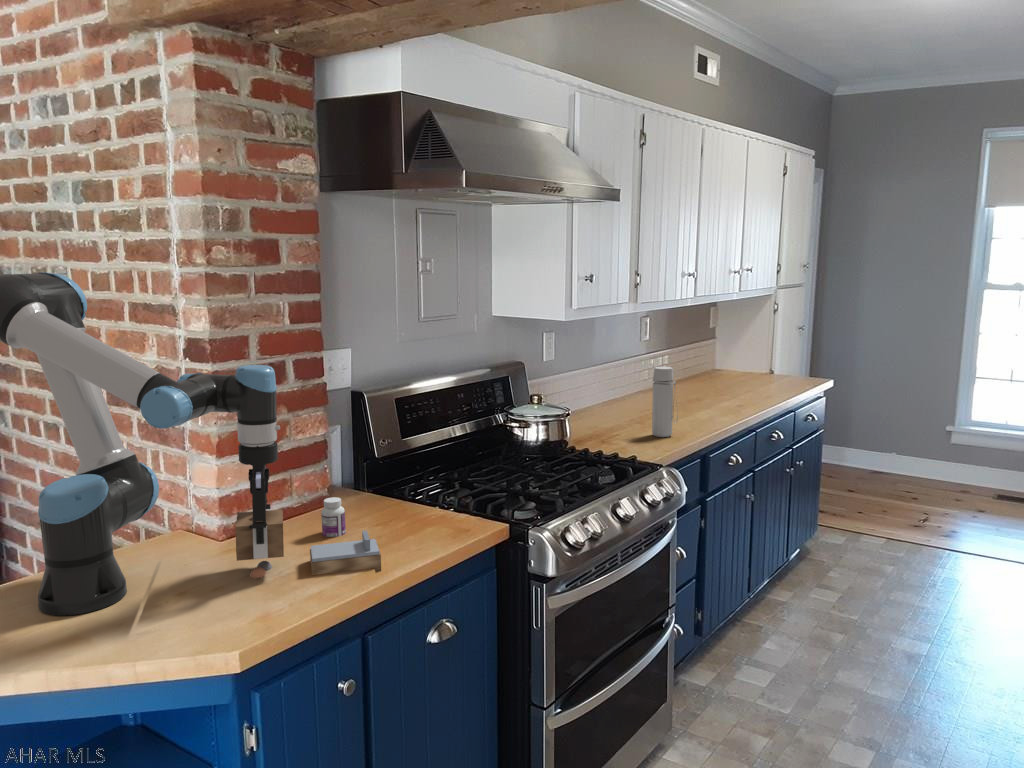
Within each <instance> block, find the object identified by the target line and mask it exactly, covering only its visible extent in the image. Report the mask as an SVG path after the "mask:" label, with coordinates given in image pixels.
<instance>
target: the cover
mask: <svg viewBox="0 0 1024 768" xmlns="http://www.w3.org/2000/svg"><path fill="white" fill-rule="evenodd" d="M283 512H284V510H283V509H275V510H274V509H268V511H266V523H267V544H268V558H267V559H273V558H275V559H276V558H283V557H285V556H284V555H285V554H284V552H285V551H284V549H285V547H284V515H283V514H284V513H283ZM257 522H262V521H257ZM252 524H253V511H244V512H243V511H242V512H241V511H239V512H237V514H236V520H235V547H236V548H235V549H236V550H235V552H236V554H235V555H236V556H235V557H236V561H237V562H238V561H247V560H255V559H254V555H253V529H249V525H252ZM262 559H264V558H262ZM262 559H261V560H262Z"/></svg>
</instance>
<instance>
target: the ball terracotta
mask: <svg viewBox="0 0 1024 768" xmlns="http://www.w3.org/2000/svg"><path fill="white" fill-rule="evenodd" d="M266 574H267V571H265V570H264V569H263V568H262V567H257V566H256V567H254V568H253V569H252V570H251V571H250V577H251V578H262V577H264V576H266Z"/></svg>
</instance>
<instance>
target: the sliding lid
mask: <svg viewBox="0 0 1024 768" xmlns="http://www.w3.org/2000/svg"><path fill="white" fill-rule="evenodd" d="M361 537H362V539H361V540H352V541H351V540H350V541H343V542H334V543H333V542H332V543H324V544H316V545H310V549H311V554H312V562H318V561H327V560H336V559H344V558H353V557H362V556H371V555H379V554H381V552H380V548H379V546H378V543H377V540H376V538H371V539H370V536H369V533H368V530H362V531H361Z"/></svg>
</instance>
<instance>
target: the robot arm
mask: <svg viewBox="0 0 1024 768" xmlns="http://www.w3.org/2000/svg"><path fill="white" fill-rule="evenodd" d="M87 310H88V302H87V297H86V295H85V293H84V291H83V290H82V288H81V286H80V285H79V284H77V283H76V281H74V280H73V279H71V278H70V277H67V276H65V275H63V274H60V273H59V274H58V273H52V272H47V271H46V272H44V271H43V272H41V271H40V272H37V273H4V274H3V273H2V274H0V342H1V343H4V344H5V345H7V346H9V347H10V348H13V349H15V350H16V349H23V348H25V349H27V350H28V351H31V352H33V353H34V354H35V356H36V357H37V360H38V362H39V365H40V367H41V370H42V373H43V375H44V377H45V380H46V381H47V385H48V387H49V389H50V392H51V394H52V396H53V399H54V401H55V402H54V403H55V404H56V406H57V409H58V411H59V413H60V416H61V419H62V421H63V423H64V427H65V428H66V431H67V433H68V436H69V438H70V441H71V443H72V446H73V448H74V452H75V453H76V455H77V456H76V457H77V458H78V461H79V466H78V467H77V469H76V472H75V475H71V476H69V477H68V478H61V479H58V480H56V481H54V482H51V483H49V484H47V486H45V487H44V488H43V489H42V490H41V491H40V493H39V496H38V510H37V512H38V513H37V514H38V517H39V525H40V530H41V531H40V532H41V540H42V549H43V556H44V559H43V560H44V572H43V574H42V579H41V583H40V587H39V591H38V594H37V602H38V609H39V611H40V612H41V613H44V614H46V615H51V616H74V615H80V614H87V613H91V612H95V611H97V610H101V609H105V608H107V607H109V606H111V605H114V604H115V603H118V602H119V601H120V600H122V599H123V598H124V597H125V596H126V594H127V592H128V588H127V581H126V577H125V576H124V574H123V572H122V570H121V567H120V565H119V563H118V561H117V559H116V558H115V555H114V547H113V546H114V545H113V536H112V533H114V532H116V531H117V530H120V529H122V528H123V527H124V526H126V525H129V524H130V523H132V522H135V521H138V520H139V519H141V518H143V516H145V514H147V513H148V512H149V511H151V510H152V509H153V508H154V506H155V505H156V502H157V500H158V499H159V498H158V497H159V493H160V485H159V479H158V477H157V475H156V473H155V472H154V470H153V469H152V468H151V467H150V466H147V465H146V464H145V463H144V462H141V461H140V462H139V459H138V457H137V455H136V453H135V451H132V450H130V449H129V448H125V446H124V444H123V442H122V439H121V437H120V433H119V431H118V428H117V427H116V423H115V421H114V419H113V417H112V416H113V415H112V414H111V411H110V408H109V406H108V404H107V403H108V402H107V401H106V399H105V396H104V394H103V391H102V390H104V391H105V392H108V393H110V395H111V394H112V395H113V396H115V397H117V398H119V399H120V400H123V401H125V402H126V403H128V404H129V405H132V406H134V407H136V408H138V409H139V410H140V413H141V416H142V417H143V419H144V420H145V421H146V423H147V424H148V425H150V426H151V427H153V428H156V429H160V430H161V429H169V428H174V427H179V426H181V425H184V424H185V423H187V422H189V421H191V420H194V419H197V418H200V417H202V416H204V415H207V414H210V413H233V414H234V413H235V414H236V415H237V418H236V419H237V424H236V425H237V427H236V429H237V441H238V443H239V444H238V462H240V463H241V464H242V465H245V466H248V465H249V466H252V468H249V469H248V482H249V493H250V495H251V496H252V497H251V502H252V504H251V505H252V512H253V524H252V525H249V529H253V555H254V559H253V560H259V559H260V560H262V558H263V559H269V558H268V544H267V523H266V511H269V510H271V504H268V498H267V494H268V492H269V480H270V468H269V467H266V466H267V464H268V465H269V464H274V463H275V462H277V460H278V459H279V450H278V449H279V448H278V446H279V445H278V443H277V442H276V441H277V439H278V431H279V430H281V426H280V424H279V425H278V422H277V421H278V420H277V419H278V417H277V391H278V390H277V389H278V388H277V387H278V386H277V383H276V382H277V381H276V373H275V370H274V369H275V368H273V367H272V366H270V365H265V364H247V365H240V366H238V367H237V368H236V369H235V374H231V375H230V374H214V373H202V372H196V373H184V374H182V375H180V376H179V379H177V381H176V380H174V379H173V378H170V377H168V375H167V376H166V375H164V374H162V373H161V372H159V371H157V370H155V369H154V368H152V367H150V366H148V365H146V364H144V363H143V362H141V361H138V360H137V359H135V358H133V357H132V356H129V355H127V354H125V353H124V352H123V351H121V350H119V349H116V348H114V347H112V346H111V345H109V344H107V343H105V342H103V341H101V340H99V339H97V338H96V337H94V336H92V335H91V334H88V333H86V331H87V329H86V326H85V323H84V322H83V321H84V319H85V317H86V312H87ZM257 521H262V522H257Z"/></svg>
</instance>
